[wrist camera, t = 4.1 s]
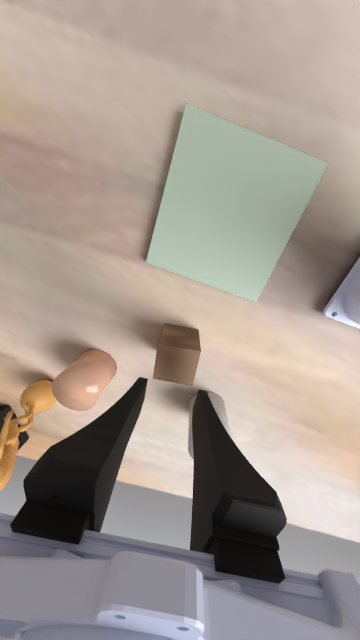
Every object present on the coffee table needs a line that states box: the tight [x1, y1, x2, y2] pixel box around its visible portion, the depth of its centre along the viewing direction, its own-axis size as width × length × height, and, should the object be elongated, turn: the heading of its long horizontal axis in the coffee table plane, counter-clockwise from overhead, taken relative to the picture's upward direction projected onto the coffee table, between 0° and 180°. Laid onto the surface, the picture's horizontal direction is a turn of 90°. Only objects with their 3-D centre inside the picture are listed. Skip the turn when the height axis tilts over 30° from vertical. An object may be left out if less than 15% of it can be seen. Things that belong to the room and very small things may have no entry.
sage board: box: [146, 103, 329, 302], centre depth 16 cm, size 12×12×1 cm
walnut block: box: [153, 324, 201, 386], centre depth 19 cm, size 4×4×5 cm
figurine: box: [0, 380, 57, 490], centre depth 19 cm, size 8×6×12 cm
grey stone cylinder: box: [188, 392, 232, 459], centre depth 21 cm, size 5×5×6 cm
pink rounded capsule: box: [52, 349, 117, 411], centre depth 21 cm, size 5×5×5 cm
